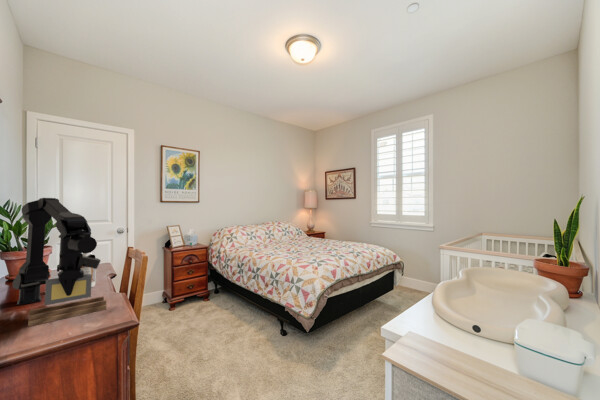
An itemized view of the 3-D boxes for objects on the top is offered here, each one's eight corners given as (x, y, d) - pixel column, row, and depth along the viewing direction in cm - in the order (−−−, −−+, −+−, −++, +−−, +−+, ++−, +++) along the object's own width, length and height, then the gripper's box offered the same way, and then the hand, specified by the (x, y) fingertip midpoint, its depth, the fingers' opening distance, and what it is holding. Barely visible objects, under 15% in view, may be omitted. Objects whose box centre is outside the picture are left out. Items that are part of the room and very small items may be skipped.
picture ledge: (28, 326, 79) (28, 317, 80) (29, 318, 85) (29, 309, 85) (106, 309, 94) (106, 301, 94) (102, 303, 99) (103, 295, 99)
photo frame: (44, 305, 84) (45, 281, 84) (44, 302, 86) (45, 279, 86) (90, 296, 93) (91, 275, 93) (89, 294, 95) (90, 273, 95)
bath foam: (74, 290, 114) (76, 246, 114) (77, 286, 119) (79, 244, 120) (94, 288, 117) (96, 245, 118) (96, 284, 123) (97, 243, 124)
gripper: (103, 251, 89) (101, 295, 89) (95, 245, 102) (93, 283, 102) (60, 255, 81) (57, 303, 81) (57, 248, 94) (55, 289, 94)
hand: (68, 294), depth 89 cm, fingers closed on photo frame, 3 cm apart
